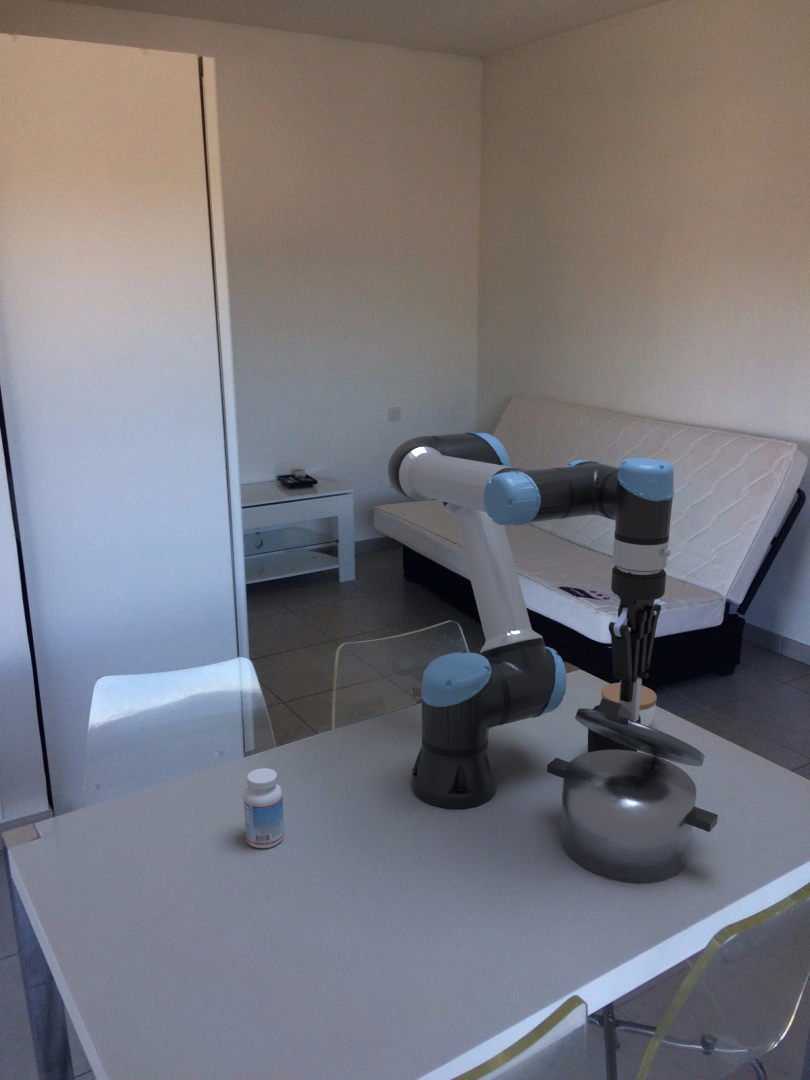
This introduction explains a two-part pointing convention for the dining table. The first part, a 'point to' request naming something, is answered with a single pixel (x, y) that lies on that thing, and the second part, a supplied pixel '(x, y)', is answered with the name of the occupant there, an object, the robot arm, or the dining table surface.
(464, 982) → the dining table surface
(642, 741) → the pot lid
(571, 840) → the cooking pot
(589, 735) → the pen holder
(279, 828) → the pill bottle
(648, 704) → the lidded jar
